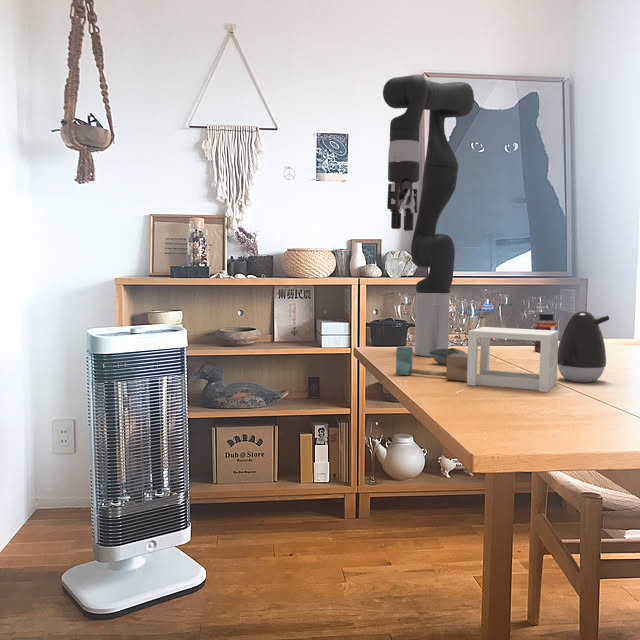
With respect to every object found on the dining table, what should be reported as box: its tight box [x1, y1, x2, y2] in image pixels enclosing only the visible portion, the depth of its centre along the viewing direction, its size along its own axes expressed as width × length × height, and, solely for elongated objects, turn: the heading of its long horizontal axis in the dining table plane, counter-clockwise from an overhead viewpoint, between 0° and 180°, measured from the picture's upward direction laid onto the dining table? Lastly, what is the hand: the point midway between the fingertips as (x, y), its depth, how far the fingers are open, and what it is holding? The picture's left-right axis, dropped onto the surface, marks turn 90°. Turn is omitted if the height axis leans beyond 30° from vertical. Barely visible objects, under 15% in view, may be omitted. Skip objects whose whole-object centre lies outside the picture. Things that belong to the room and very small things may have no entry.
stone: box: [429, 347, 468, 366], centre depth 175 cm, size 11×4×10 cm
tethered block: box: [395, 345, 468, 382], centre depth 154 cm, size 5×17×6 cm, turn 63°
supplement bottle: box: [534, 312, 558, 353], centre depth 205 cm, size 6×6×11 cm
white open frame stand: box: [466, 326, 560, 393], centre depth 146 cm, size 12×16×11 cm
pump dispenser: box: [557, 310, 610, 383], centre depth 152 cm, size 10×10×15 cm
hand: (402, 229), depth 169 cm, fingers open, 8 cm apart
